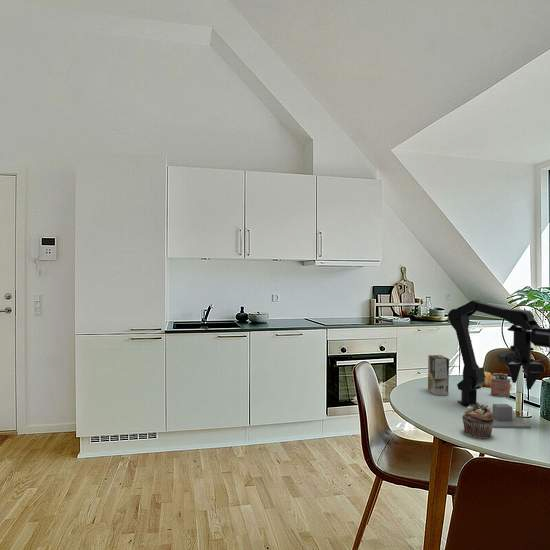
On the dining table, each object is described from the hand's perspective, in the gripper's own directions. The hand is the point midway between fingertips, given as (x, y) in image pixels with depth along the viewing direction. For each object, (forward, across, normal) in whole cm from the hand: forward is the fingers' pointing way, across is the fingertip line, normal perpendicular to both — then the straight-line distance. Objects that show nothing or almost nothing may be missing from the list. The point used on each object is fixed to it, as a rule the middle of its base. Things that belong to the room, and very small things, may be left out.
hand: (521, 385), depth 160 cm
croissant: (+12, -47, +11) cm, 50 cm away
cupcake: (+12, +16, -24) cm, 31 cm away
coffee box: (+12, -33, -18) cm, 40 cm away
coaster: (+12, +4, -9) cm, 16 cm away
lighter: (+12, -29, +8) cm, 33 cm away
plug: (+11, +4, -9) cm, 15 cm away
